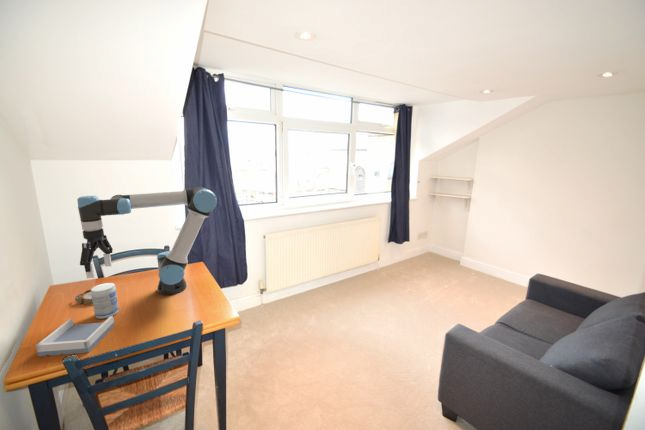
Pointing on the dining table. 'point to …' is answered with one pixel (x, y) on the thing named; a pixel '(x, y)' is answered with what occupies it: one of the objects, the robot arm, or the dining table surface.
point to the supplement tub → (104, 300)
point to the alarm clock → (85, 298)
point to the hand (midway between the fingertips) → (100, 271)
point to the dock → (74, 338)
